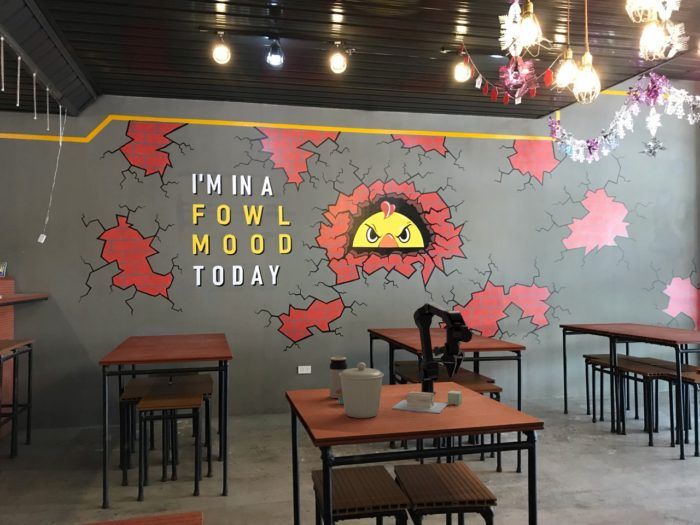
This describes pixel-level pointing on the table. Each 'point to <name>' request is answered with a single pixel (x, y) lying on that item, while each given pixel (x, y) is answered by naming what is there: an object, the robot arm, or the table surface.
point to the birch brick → (420, 399)
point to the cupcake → (340, 395)
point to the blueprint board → (434, 409)
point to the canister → (361, 391)
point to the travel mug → (336, 374)
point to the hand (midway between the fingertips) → (453, 375)
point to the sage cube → (455, 397)
